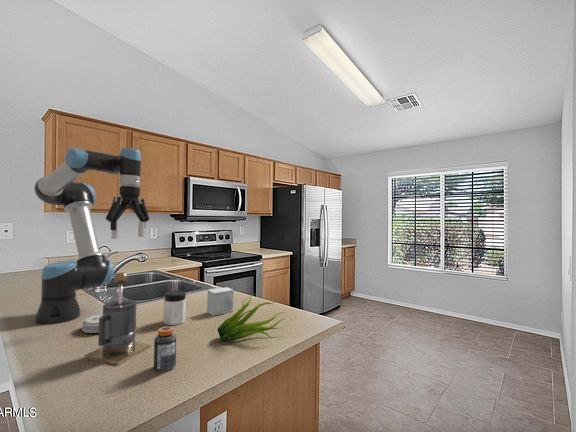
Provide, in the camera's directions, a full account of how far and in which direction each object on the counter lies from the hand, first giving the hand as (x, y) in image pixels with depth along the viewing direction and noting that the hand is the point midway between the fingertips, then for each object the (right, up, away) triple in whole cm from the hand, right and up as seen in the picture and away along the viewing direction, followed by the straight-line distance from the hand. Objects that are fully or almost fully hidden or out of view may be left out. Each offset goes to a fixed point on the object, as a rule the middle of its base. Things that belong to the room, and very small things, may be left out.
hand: (128, 237), depth 125 cm
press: (+12, -35, -28) cm, 46 cm away
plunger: (+12, -28, -28) cm, 41 cm away
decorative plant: (+54, -36, -9) cm, 65 cm away
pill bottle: (+30, -35, -37) cm, 59 cm away
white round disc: (-6, -35, -8) cm, 36 cm away
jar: (+19, -35, +1) cm, 40 cm away
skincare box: (+34, -36, +15) cm, 52 cm away
